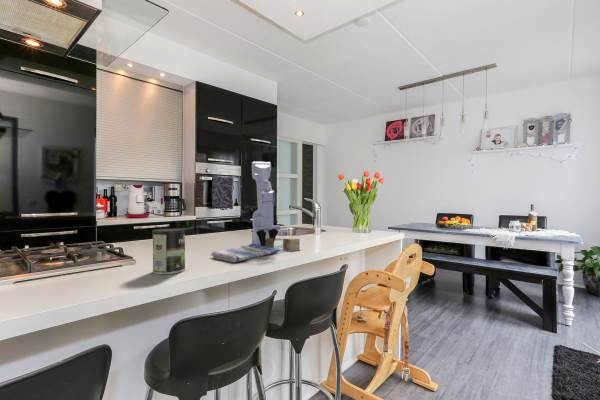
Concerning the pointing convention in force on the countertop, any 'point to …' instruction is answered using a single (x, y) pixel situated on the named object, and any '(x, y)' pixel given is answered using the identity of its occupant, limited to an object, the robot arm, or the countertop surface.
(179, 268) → the coffee can
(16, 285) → the countertop surface
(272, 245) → the walnut block
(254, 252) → the dish towel
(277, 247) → the board
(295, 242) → the oak base block
